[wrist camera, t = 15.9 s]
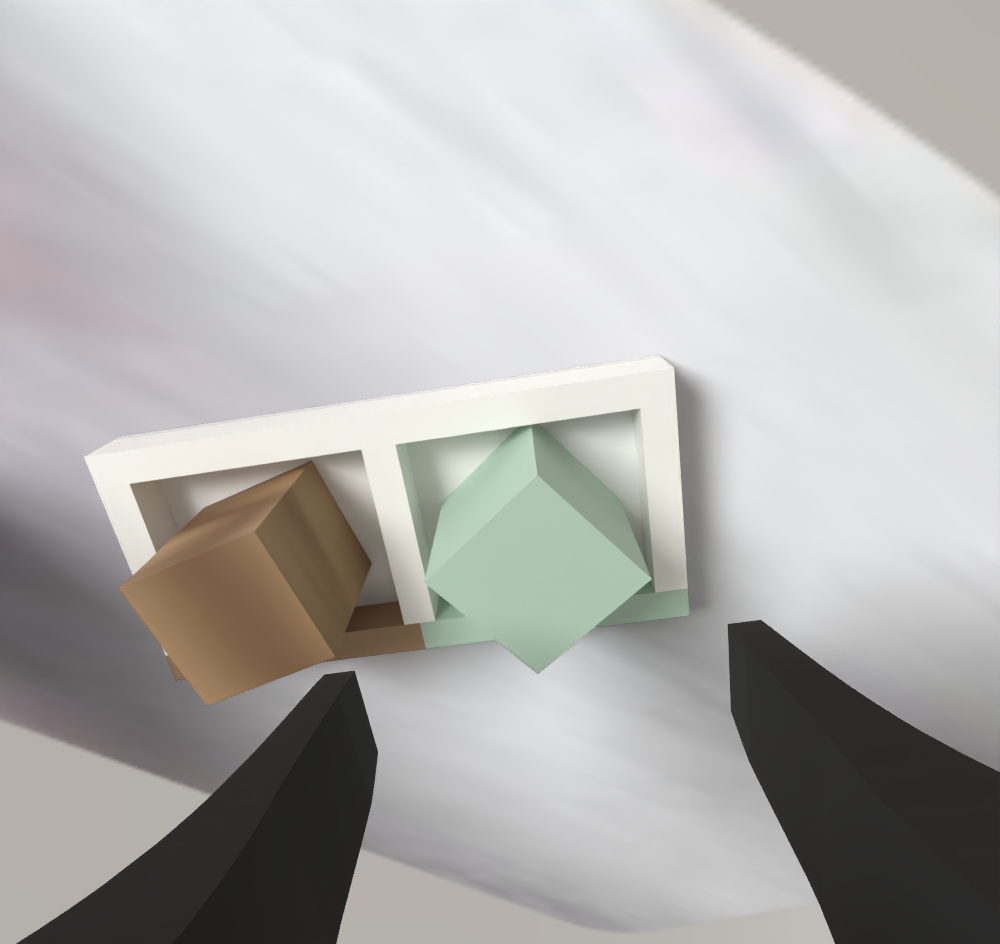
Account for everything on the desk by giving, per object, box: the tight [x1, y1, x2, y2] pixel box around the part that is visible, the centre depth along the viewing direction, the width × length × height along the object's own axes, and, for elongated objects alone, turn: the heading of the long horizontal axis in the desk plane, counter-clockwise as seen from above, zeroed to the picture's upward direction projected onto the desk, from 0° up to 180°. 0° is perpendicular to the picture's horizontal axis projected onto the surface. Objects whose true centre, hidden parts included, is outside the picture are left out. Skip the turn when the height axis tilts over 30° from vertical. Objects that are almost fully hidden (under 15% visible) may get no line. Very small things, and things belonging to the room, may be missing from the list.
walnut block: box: [119, 461, 372, 706], centre depth 19 cm, size 4×4×5 cm
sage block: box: [424, 423, 652, 674], centre depth 19 cm, size 4×4×5 cm
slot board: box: [84, 355, 689, 680], centre depth 21 cm, size 17×8×2 cm, turn 99°
